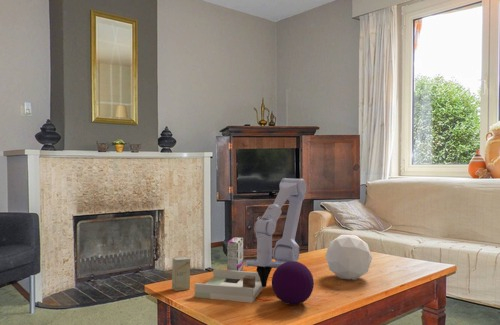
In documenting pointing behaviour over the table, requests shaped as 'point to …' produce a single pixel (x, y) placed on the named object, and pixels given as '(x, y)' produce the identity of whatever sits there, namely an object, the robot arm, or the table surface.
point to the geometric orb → (348, 257)
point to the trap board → (229, 286)
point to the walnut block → (249, 281)
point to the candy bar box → (235, 254)
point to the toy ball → (292, 283)
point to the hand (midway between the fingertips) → (264, 286)
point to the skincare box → (181, 273)
